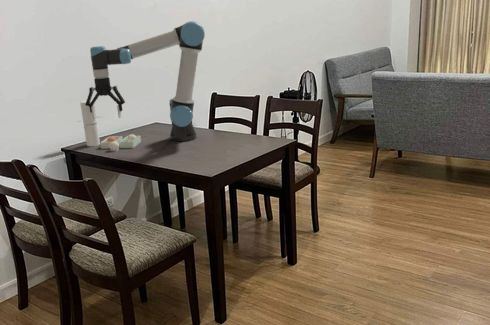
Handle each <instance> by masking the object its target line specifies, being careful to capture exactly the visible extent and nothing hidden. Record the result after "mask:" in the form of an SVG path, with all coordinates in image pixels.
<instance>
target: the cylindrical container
mask: <svg viewBox="0 0 490 325" xmlns="http://www.w3.org/2000/svg"><path fill="white" fill-rule="evenodd" d="M92 100H93V99H91V100H90V103H91V101H92ZM86 101H87V100H82V101H79V102H80V109H81V117H82V123H83V128H84V130H83V131H84V136H85V141H86V146H87V147H96V146H99V145H100V142H101V140H100V134H99V127H98V120H97V118H96V119H93V115H92V113H91V112H90V107H89V106H86V105H85V104H86ZM93 106H95V103H94V104H93ZM100 146H101V145H100Z"/></svg>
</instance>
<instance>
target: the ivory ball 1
mask: <svg viewBox="0 0 490 325" xmlns="http://www.w3.org/2000/svg"><path fill="white" fill-rule="evenodd" d="M109 147H110V149H109V150H112V151H113V150H118V149H119V150H120V146H119V144H118V143H117V142H115V141H113V142H111V143H110V145H109ZM119 150H118V151H119Z"/></svg>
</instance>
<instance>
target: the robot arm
mask: <svg viewBox="0 0 490 325" xmlns="http://www.w3.org/2000/svg"><path fill="white" fill-rule="evenodd" d="M204 39H205V30H204V27H203V26H202V25H201V24H200V23H199V22H197V21H186V22H185V23H184V24H182V25H180V26H177V27H174V28H173V30H171V31H168V32H164V33H161V34H159V35H156V36H152V37H150V38H146V39H143V40H140V41H136V42H133V43H130V44H128V45H124V46H120V47H117V48H116V49H106V47H105V46H104V45H99V46H91V47H90V50H89V51H90V60H91V68H92V73H93V77H94V79H93V80H94V87H93V86H91V87H89V90H88V96H87V99H86V100H85V101H86V104H85V105H86V106H89V107H90V112H91V113H92V115H93V119H97V113H96V106H95V103H96V101H97V100H98V98H99V97H103V96H104V97H105V96H109V98H111V99H112V100H113V101H114V102H115V103H116V104H117V105H116V109H117V116H118V119H120V118H122V111H123V105H124V104H126V101H125V99H124V97H123V96H122V95H121V93H120V92H119V90H118V86H117V85H114V86H112V85H111V81H110V77H109V76H110V73H109V72H110V71H109V66H113V65H129V64H131V62H132V60H133V59H136V58H141V57H143V56H146V55H149V54H152V53H156V52H159V51H161V50H166V49H168V48H171V47H175V46H178V47H179V49H180V51H181V53H180V60H179V61H180V62H179V68H178V74H177V84H176V90H175V96H174V97H173V98H170V99H169V103H168V104H169V109H170V110H169V111H170V113H169V117H170V118H169V119H170V120H171V121H170V122H171V129H170V134H169V139H170V141H172V142H188V141H193V140H195V139H197V136H198V134H197V131H196V128H195V126H194V125H193V119H194V113H193V112H194V107H195V106H194V104H195V101H194V100H193V92H194V85H195V78H196V70H197V65H198V57H199V53H200V52H202V50H203V43H204ZM112 91H113V92H114V94H113V92H112ZM94 92H96V93H95V95H94V97H93V98H92V96H93V94H94ZM90 100H92V101H91V103H90ZM93 104H94V106H93Z"/></svg>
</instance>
